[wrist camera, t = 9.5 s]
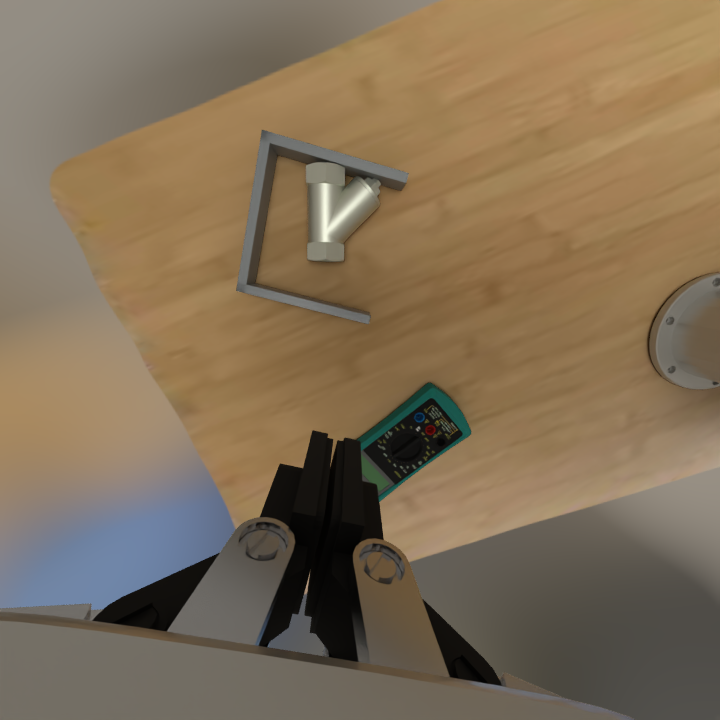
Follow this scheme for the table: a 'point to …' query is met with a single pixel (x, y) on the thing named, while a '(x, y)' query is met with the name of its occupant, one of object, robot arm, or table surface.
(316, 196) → the pipe fitting
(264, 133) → the gray u-shaped frame
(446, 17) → the table surface
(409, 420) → the digital multimeter
